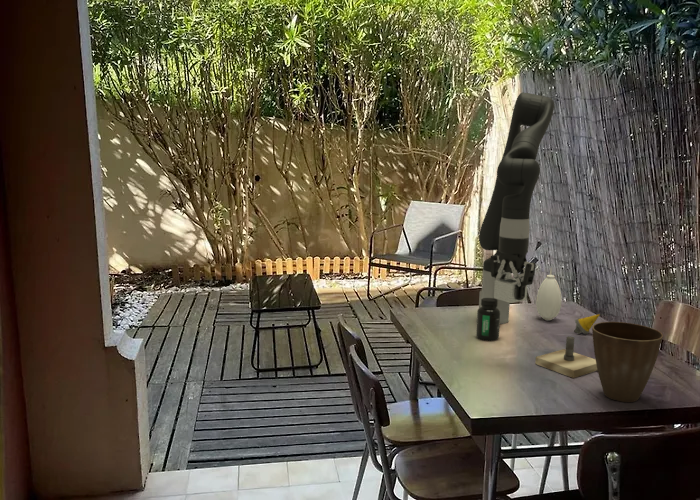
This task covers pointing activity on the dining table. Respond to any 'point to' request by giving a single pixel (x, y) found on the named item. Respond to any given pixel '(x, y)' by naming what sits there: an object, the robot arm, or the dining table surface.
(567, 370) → the post block
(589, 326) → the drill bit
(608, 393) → the plant pot
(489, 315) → the supplement bottle
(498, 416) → the dining table surface
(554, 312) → the white vase
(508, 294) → the collar
